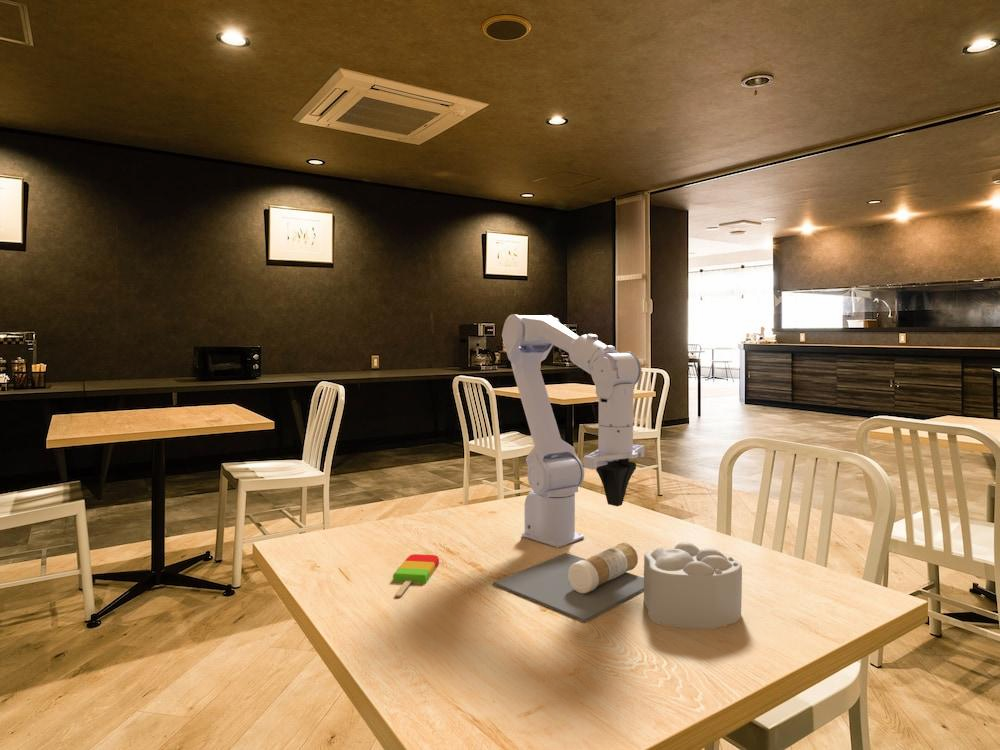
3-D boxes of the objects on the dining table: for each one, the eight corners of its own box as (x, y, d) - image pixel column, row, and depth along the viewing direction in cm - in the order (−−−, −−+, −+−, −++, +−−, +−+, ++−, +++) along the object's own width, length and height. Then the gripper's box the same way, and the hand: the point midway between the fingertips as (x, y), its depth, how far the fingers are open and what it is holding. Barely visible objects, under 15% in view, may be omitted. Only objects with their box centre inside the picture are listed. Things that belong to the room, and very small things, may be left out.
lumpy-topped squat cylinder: (640, 594, 93) (641, 538, 92) (729, 597, 92) (730, 540, 91) (652, 627, 82) (653, 564, 82) (752, 630, 81) (753, 566, 81)
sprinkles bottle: (614, 564, 103) (565, 587, 93) (616, 538, 103) (567, 559, 93) (638, 573, 100) (590, 599, 90) (640, 547, 100) (592, 569, 90)
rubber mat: (492, 584, 96) (492, 581, 96) (566, 555, 109) (566, 552, 109) (584, 622, 84) (584, 619, 84) (655, 584, 96) (655, 581, 96)
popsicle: (440, 565, 106) (440, 554, 106) (415, 602, 91) (415, 590, 91) (410, 563, 107) (409, 552, 107) (379, 600, 92) (379, 588, 92)
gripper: (609, 432, 95) (608, 518, 96) (660, 422, 105) (659, 500, 106) (573, 427, 100) (573, 509, 101) (625, 418, 110) (624, 493, 111)
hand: (614, 504), depth 104 cm, fingers closed
